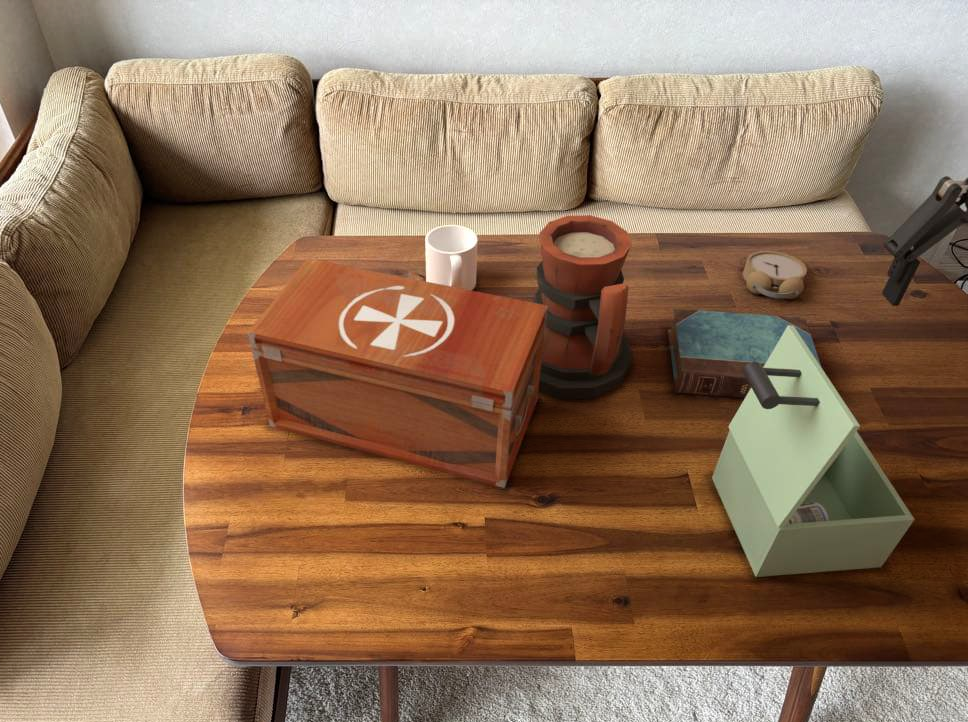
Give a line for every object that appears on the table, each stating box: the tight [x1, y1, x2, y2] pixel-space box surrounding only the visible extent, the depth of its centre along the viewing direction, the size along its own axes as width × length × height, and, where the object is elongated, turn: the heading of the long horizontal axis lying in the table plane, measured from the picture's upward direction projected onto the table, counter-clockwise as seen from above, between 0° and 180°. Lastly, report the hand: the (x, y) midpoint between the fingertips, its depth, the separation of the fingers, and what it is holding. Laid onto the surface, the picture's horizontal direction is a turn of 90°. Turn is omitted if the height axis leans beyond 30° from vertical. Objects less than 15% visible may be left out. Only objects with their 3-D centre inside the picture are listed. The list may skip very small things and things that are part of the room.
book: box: [667, 308, 822, 399], centre depth 133 cm, size 23×18×5 cm
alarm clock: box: [742, 250, 808, 300], centre depth 150 cm, size 11×5×15 cm
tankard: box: [532, 214, 633, 400], centre depth 128 cm, size 22×25×25 cm
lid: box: [727, 325, 861, 528], centre depth 96 cm, size 18×18×8 cm
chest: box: [711, 430, 915, 578], centre depth 107 cm, size 18×18×11 cm
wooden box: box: [247, 257, 548, 489], centre depth 121 cm, size 20×41×20 cm, turn 70°
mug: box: [424, 224, 478, 291], centre depth 150 cm, size 13×10×10 cm
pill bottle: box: [787, 502, 829, 524], centre depth 107 cm, size 5×5×8 cm
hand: (940, 295), depth 99 cm, fingers open, 13 cm apart
